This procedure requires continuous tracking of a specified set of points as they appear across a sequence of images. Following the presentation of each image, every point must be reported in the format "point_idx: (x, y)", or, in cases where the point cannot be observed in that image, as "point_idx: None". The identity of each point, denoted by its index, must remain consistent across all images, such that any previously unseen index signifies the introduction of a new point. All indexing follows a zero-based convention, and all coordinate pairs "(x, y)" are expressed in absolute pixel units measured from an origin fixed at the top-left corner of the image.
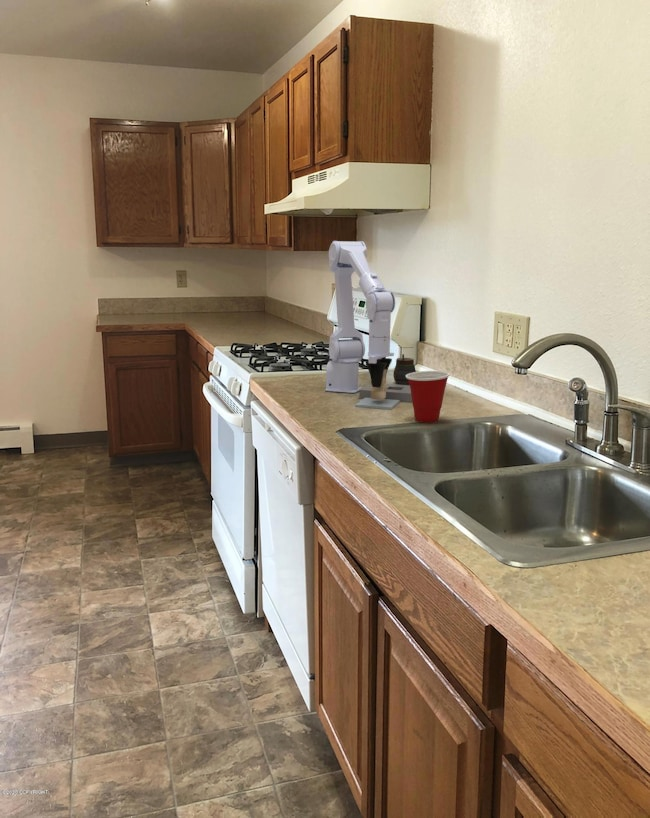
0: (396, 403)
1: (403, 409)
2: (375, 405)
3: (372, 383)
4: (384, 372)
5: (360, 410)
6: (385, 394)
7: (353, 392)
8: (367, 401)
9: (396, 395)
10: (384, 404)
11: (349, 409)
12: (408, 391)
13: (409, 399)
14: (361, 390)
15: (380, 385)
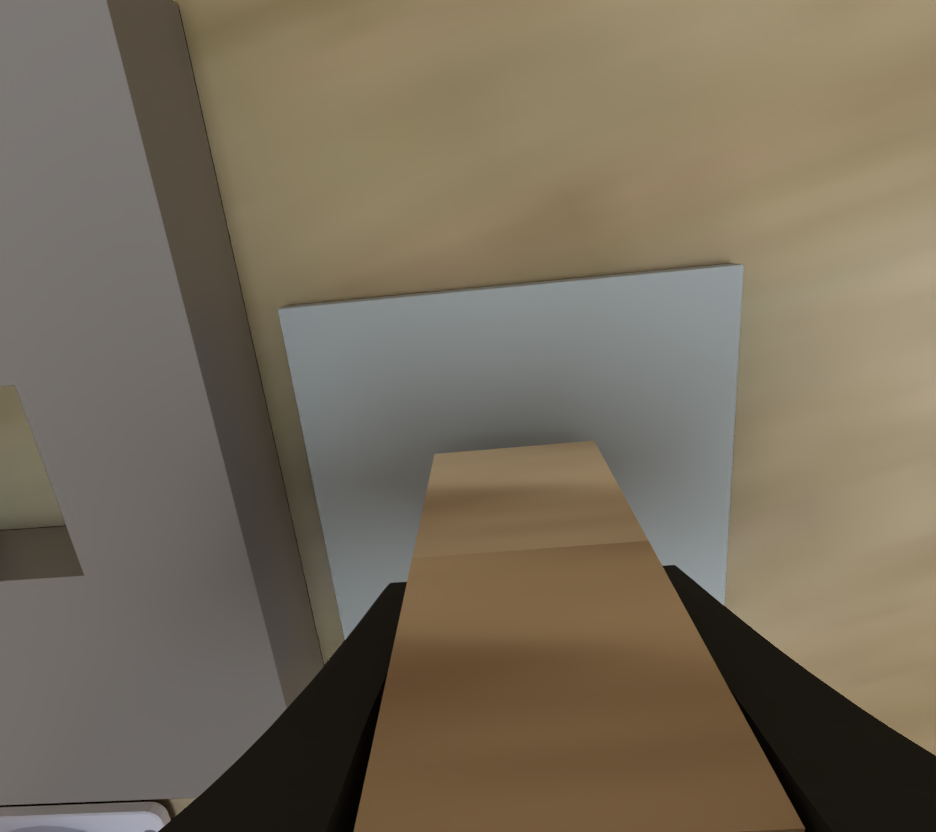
0: (453, 291)
1: (670, 116)
2: (704, 466)
3: None
4: (620, 760)
5: (871, 546)
6: (453, 468)
7: (167, 817)
8: None
9: (225, 375)
10: (610, 394)
11: (851, 645)
12: (26, 248)
13: (202, 186)
14: None
15: (683, 577)
